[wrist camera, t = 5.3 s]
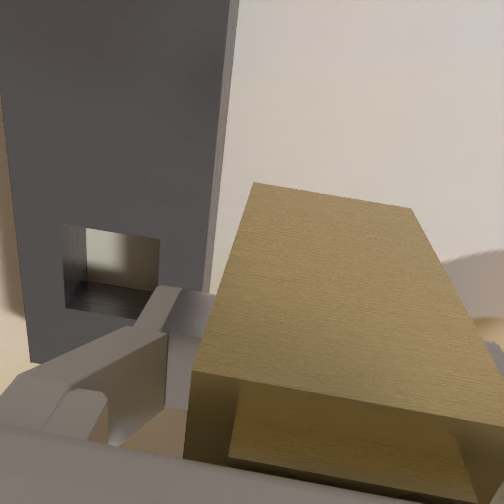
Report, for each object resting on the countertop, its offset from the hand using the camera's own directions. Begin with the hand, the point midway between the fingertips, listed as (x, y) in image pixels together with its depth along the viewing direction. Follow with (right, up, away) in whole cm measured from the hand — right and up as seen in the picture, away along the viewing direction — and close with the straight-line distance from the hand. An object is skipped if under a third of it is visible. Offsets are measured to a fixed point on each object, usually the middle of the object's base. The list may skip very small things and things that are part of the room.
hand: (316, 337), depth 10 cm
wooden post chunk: (0, +1, +3) cm, 3 cm away
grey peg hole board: (-8, +9, +14) cm, 18 cm away
